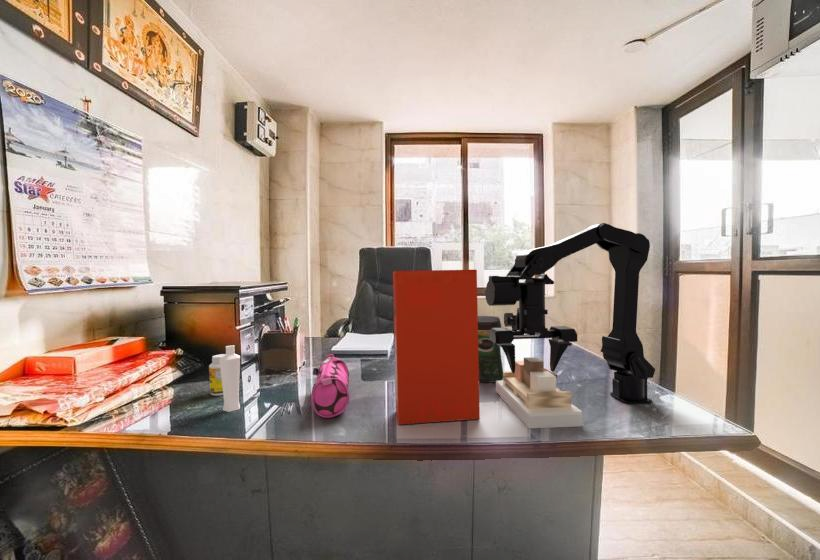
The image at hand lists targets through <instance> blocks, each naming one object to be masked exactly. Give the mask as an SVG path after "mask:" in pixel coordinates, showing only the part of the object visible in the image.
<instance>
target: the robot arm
mask: <svg viewBox="0 0 820 560" xmlns="http://www.w3.org/2000/svg"><path fill="white" fill-rule="evenodd" d="M595 244H596V245H597V246H598V247H599V248H600V249H601V250H603V251H606V252H607V253H608V258H609V259H608V260H609V262H610V264H611V266H612V268H613V270H614V289H613V290H614V292H613V309H612V325H611V326H612V328H611V330H610V332H609V334H608V335H607V336H606V335H602V337H601V349H600V353H602V358H603V360H605V362H606V363H607V365H608V369H609V370H610V371H613V378H612V383H611V384H612V392H610V394H609V395H610V396H612V397H614V398H616V399H618V400H619V401H621V402H622V403H625V404H646V403H648V404H649V403H653V399H650V398H648V380H649V379H652V378H654V374H655V372H656V368H655V367H654V366H653V365H652V364H651V363H650V362H649V361H648V360H647V359H646V358H645V355H644V346H643V343H642V340H641V339H640V337H639V336H638V333H637V325H638V324H637V323H638V305H639V304H638V303H639V302H638V301H639V284H640V281H639V280H640V272H641V270H642V268H643V267H644V266H645V265H646V262H648V258H649V253H650V249H651V248H650V247H651V245H650V244H651V243H650V240H649V239H648V238H647V237H646V235H644V234H643V233H639V232H636V233H635V232H633V231H632V230H631V231H630V230H627V229H624V228H620V227H615V226H613V225H611V224H609V223H604V222H602V223H598V224H593V225H590V226H589V227H588V228H585V229H583V230H581V231H578V232H576V233H574V234H572V235H569V236H567V237H565V238H563V239H561V240H558V241H555V242H554V243H551V244H549V245H545V246H541V247H539V246H538V247H535V248H531V249H527V250H523V251H520V252H518V253H517V254H516V255H515V256H516V257H515V258H514V259H515V260H514V264H513V265H512V266H511V268H510V270H509V271H508V272H507V274H506V275H505V276H503V275H502V276H500V275H489V276H488V281H487V283H486V288H485V289H484V295H485V296H484V297H485V301H486V303H487V305H488V306H491V307H492V306H514V305H516V304H517V302H518V307H517V309H516V315H515V314H514V313H513V312H505V313H503V325H504V327H502V328H492V329H491V330H490V332H489V339H490V340H491V341H493V342H494V343H496V344H497V345H499V346H500V348H502V350H503V352H504V354H505V357H506V361H507V362H508V365H509V368H510V371H512V373H515V361H516V345H515V344H514V343H512V342H513V341H514V340H528V339H529V340H530V339H531V340H532V339H548V344H549V346H550V348H549V349H550V353H549V355H550V356H549V368H550V369H549V371H551V372H553V373H555V370H556V368H557V367H558V365H559V362H560V360H561V359H562V356H563V354H564V353H565V351H566V350H567V348H568V347H569V346H570V347H571V346H573V345H572V344H573V343H574V342H575V343H577V342H578V332H577V331H576V329H575V328H572V327H570V326H569V327H568V326H566V325H559V326H558V325H557V326H556V325H555V326H552V325H551V326H550V328H549V329H548V327H546V315H548V314H549V313H548V311H549V310H548V309H546V285H554V284H555V281H554V280H553V279H551V278H550V277H549V276H548V274H546V272H548V271H549V270H551V269H552V268H553V267H554V266H556V265H557V263H558V262H560V261H561V260H563V259H564V258H567V257H569V256H571V255H573V254H575V253H577V252H579V251H582V250H584V249H587V248H589V247H592V246H593V245H595ZM534 276H538V277H534ZM521 280H524V281H522V282H520V281H521ZM509 327H511V329H509ZM572 342H573V343H572Z"/></svg>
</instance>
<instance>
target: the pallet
mask: <svg viewBox="0 0 820 560" xmlns="http://www.w3.org/2000/svg"><path fill="white" fill-rule="evenodd" d="M523 361H524V382H520V381H519V380H518V379H517V378H515V373H512V371H511V370H510V371H509V370H508V371H503V379H502V380H503V384H504V385H505V386H510V387H511V388H512V389H513V393H514V394H515V395H516V396H520V397H521V398H522V399H523V400H524V401H525V405H526V406H527V407H528V408H529V409H533V408H557V407H571V404H572V392H571V391H570V390H565V391H564V390H561V389H560V388H558V387H557V386H556V392H532V391H531V390H530V372H544V367H545V366H544V361H543V360H542V359H540V358H538V357H536V356H534V357H533V356H531V357H523Z"/></svg>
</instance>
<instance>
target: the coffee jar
mask: <svg viewBox="0 0 820 560" xmlns="http://www.w3.org/2000/svg"><path fill="white" fill-rule="evenodd" d="M492 328H503V327H502V323H501V318H500V316H494V315H478V359H479V383H482V382H483V383H496V381H498V380H503V372H504V369H503V361H502V360H503V359H502V351H501V347H500V346H499V345H497V344H496V343H494V342H493V341H491V340H490V339H489V332H490V330H491V329H492Z"/></svg>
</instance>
